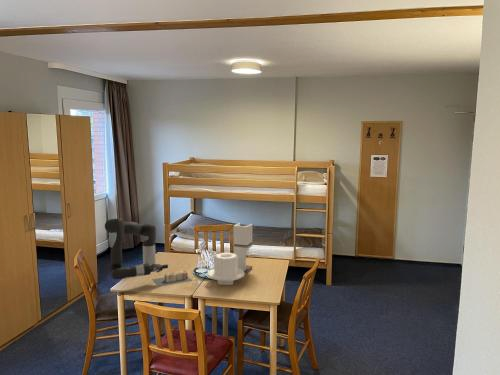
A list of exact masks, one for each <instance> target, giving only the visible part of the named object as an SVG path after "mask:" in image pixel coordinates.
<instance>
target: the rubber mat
mask: <svg viewBox="0 0 500 375" xmlns="http://www.w3.org/2000/svg"><path fill="white" fill-rule="evenodd" d="M152 282H153V283H154V284H155V285H156V286H157V287H158V288H160V287H167V286H171V285H177V284H182V283H183V284H184V283H187V282H188V283H190V282H193V280H192V279H191V278H190V277H189V276H188V279H183V280H177V281H171V282H166V281H165V276H164V277H159V278H152Z"/></svg>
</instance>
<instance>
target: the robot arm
mask: <svg viewBox="0 0 500 375" xmlns="http://www.w3.org/2000/svg"><path fill="white" fill-rule="evenodd" d="M104 229H105V231H106V232H107V233H110V234H116V237H115V241H114V243H113V245H112V247H111V250H110V277H111V279H113V280H122V279H126V278H135V277H143V276H149V275H151V273H155V272H156V273H160V272H162V271H163V270H164V269H168V268H169V265H168V264H167V263H166V264H160V263H156V237H157V236H156V234H157V227H156V225H154V224H150V223H149V224H148V223H143V224H142V223H141V224H139V223H138V222H136V221H124V220H123V218H121V217H120V218H119V217H117V218H111V219H108V220H107V221H106V222H105V223H104ZM124 235H130V236H131V235H132V236H134V235H136V236H137V235H140V236H142V237H148V239H146V240H143V241H142V261H143V262H142V263H141V264H136V265H131V266H126V267H122V264H123V242H124Z"/></svg>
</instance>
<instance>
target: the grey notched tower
mask: <svg viewBox="0 0 500 375" xmlns="http://www.w3.org/2000/svg"><path fill="white" fill-rule="evenodd" d="M251 247H253V223H250V224H248V225H241V222H238V223H236V224H234V225H233V254H236V255H237V256H238V268H239V269H242V270H243V271H244V274H248V273H249V272H250V271H251V270H253V265H247V258H249V254H250V252H249V250H250V248H251Z"/></svg>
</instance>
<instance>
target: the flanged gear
mask: <svg viewBox="0 0 500 375" xmlns="http://www.w3.org/2000/svg"><path fill="white" fill-rule="evenodd" d="M244 276H245V273H244V271H243V270H242V269H239V268H238V256H237V255H236V254H234V252H221V253H220V252H219V253H217V254H216V255H214V256H213V268H212V269H210V270H209V271H207V277H208V278H209V279H211V280H215V281H217V284H218V285H220V286H221V285H222V286H223V285H225V286H232V285H234V281H237V280H240V279H242V278H243V277H244Z"/></svg>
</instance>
